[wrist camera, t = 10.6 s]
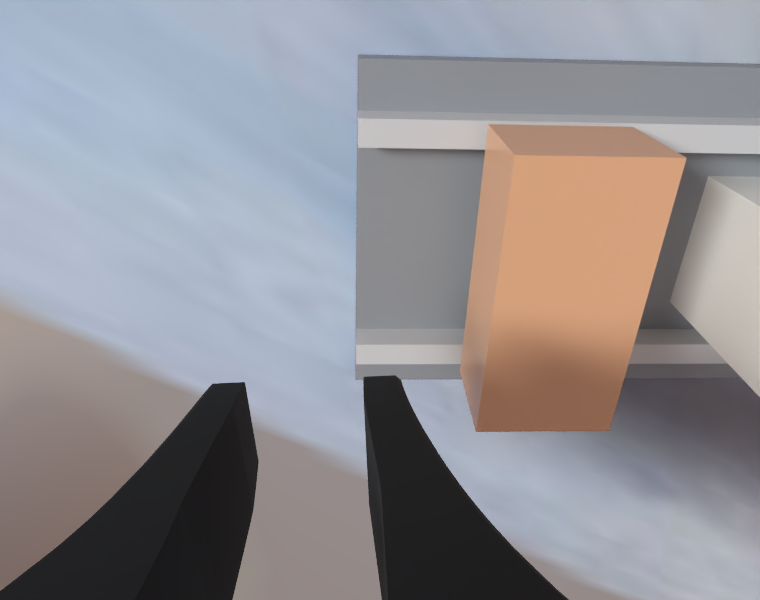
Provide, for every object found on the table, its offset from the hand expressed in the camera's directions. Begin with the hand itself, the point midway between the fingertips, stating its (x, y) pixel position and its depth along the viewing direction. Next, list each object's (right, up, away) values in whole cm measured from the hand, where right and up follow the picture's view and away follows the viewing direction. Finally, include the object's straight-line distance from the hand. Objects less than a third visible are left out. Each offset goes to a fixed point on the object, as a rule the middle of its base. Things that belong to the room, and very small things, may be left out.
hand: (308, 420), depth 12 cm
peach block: (+6, +4, +7) cm, 10 cm away
